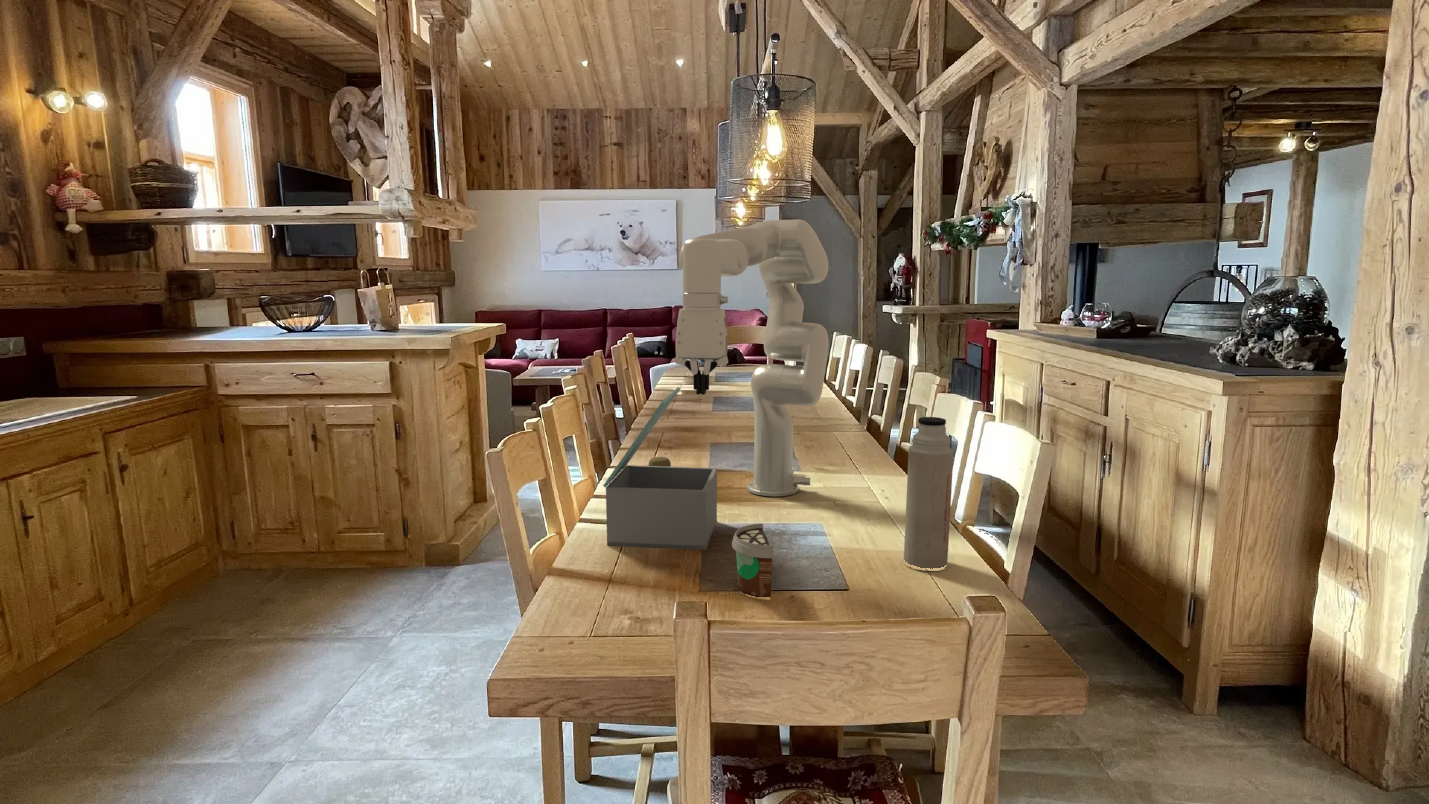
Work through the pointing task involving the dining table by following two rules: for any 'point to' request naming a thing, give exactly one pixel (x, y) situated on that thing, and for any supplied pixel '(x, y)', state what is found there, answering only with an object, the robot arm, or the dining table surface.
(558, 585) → the dining table surface
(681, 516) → the carton
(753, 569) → the food container
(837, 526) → the dining table surface
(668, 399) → the lid
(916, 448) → the thermos bottle
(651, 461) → the cork
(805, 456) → the dining table surface
